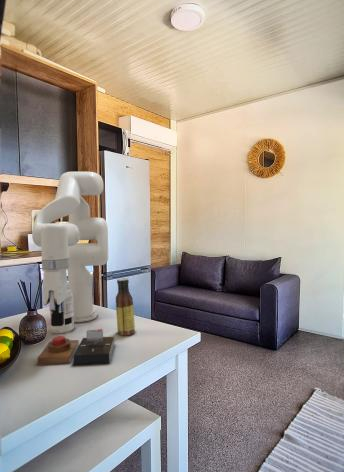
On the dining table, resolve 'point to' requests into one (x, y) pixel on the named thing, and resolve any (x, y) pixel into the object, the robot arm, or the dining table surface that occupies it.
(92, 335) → the grey flat block
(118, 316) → the sauce bottle
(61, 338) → the button
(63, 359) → the button block
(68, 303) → the supplement can
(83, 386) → the dining table surface
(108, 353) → the switch base
